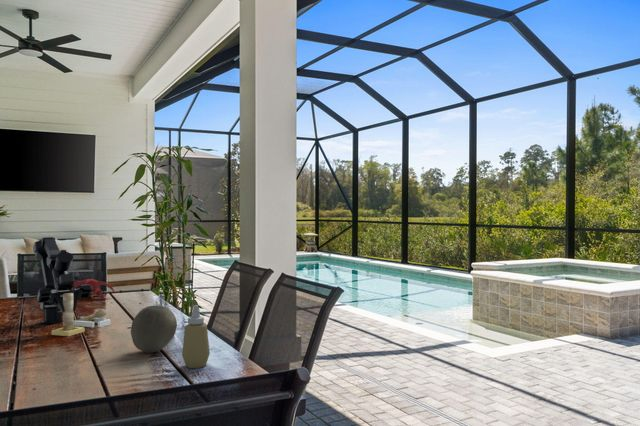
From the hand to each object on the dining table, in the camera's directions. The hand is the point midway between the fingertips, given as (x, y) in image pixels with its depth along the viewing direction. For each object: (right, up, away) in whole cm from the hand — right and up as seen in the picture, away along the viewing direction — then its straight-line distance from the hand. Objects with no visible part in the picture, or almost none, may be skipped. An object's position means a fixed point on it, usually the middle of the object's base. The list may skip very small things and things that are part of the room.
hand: (69, 310), depth 195 cm
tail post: (-1, -8, +1) cm, 8 cm away
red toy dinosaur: (-30, -9, +87) cm, 93 cm away
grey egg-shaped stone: (+41, -9, -26) cm, 49 cm away
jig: (-2, -9, +9) cm, 13 cm away
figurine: (-1, -9, +17) cm, 19 cm away
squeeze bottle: (+59, -8, -43) cm, 73 cm away
